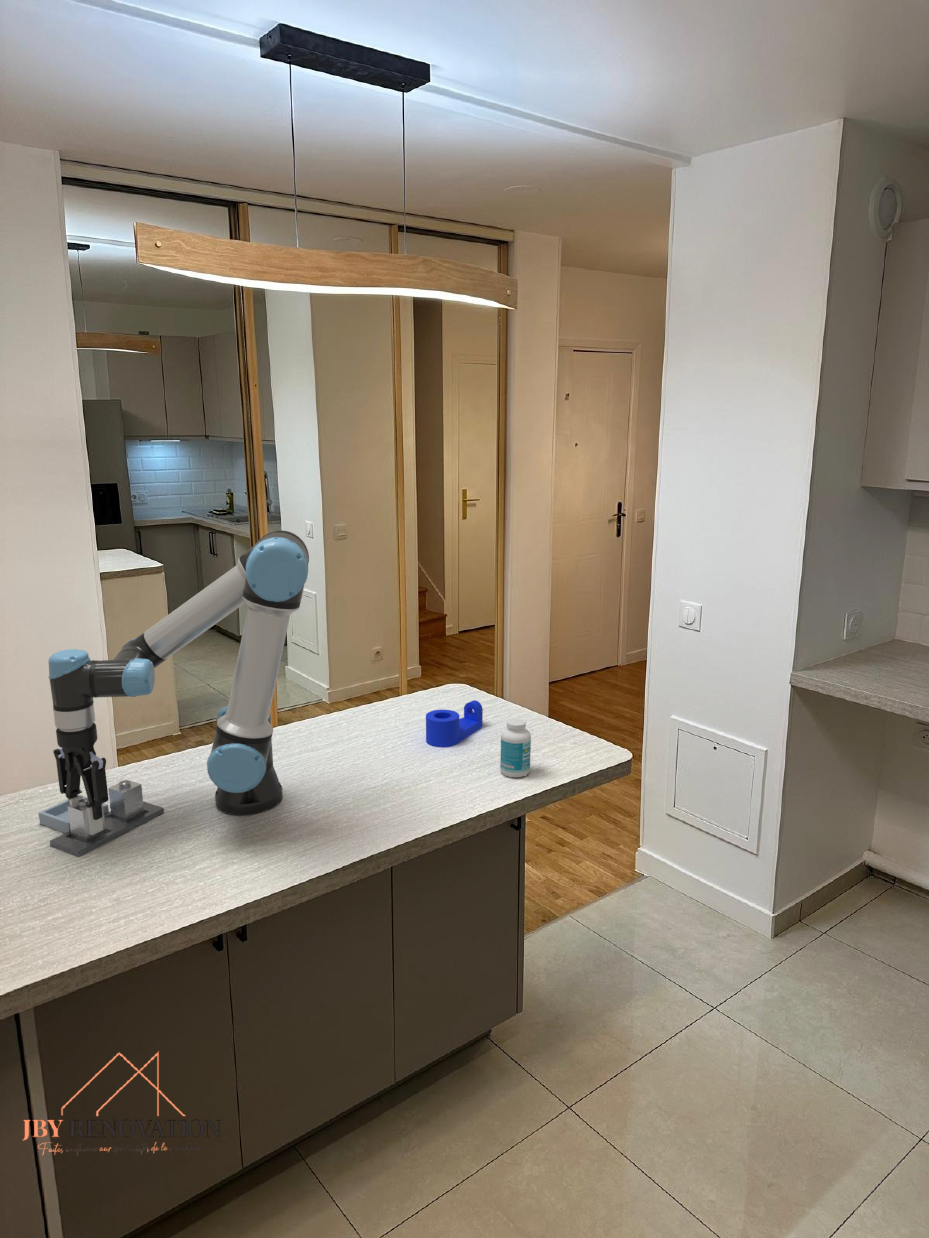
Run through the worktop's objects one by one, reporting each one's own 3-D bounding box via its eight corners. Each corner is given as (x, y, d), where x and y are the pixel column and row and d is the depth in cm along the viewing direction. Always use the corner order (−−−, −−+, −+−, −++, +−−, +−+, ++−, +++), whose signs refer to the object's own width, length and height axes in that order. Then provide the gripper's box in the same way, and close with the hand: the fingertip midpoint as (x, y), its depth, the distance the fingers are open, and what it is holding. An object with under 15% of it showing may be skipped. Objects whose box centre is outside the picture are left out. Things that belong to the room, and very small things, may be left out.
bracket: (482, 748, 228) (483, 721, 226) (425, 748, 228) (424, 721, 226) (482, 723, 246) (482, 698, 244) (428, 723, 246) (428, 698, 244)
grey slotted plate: (136, 803, 196) (135, 798, 196) (163, 812, 192) (163, 807, 192) (50, 845, 177) (49, 840, 177) (78, 856, 173) (78, 851, 173)
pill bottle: (528, 780, 209) (529, 728, 205) (498, 777, 210) (498, 726, 207) (531, 767, 216) (533, 717, 212) (502, 765, 217) (503, 715, 214)
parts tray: (109, 815, 190) (108, 804, 190) (69, 834, 182) (68, 823, 181) (79, 805, 195) (78, 794, 194) (39, 823, 187) (38, 812, 186)
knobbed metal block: (106, 836, 181) (102, 798, 179) (87, 846, 177) (82, 807, 175) (91, 831, 184) (87, 793, 181) (71, 840, 180) (67, 802, 177)
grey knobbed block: (144, 817, 190) (141, 780, 188) (126, 826, 186) (122, 789, 184) (129, 812, 192) (126, 776, 190) (111, 821, 188) (107, 784, 186)
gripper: (121, 727, 173) (131, 831, 179) (63, 711, 181) (75, 811, 187) (89, 739, 167) (101, 847, 172) (31, 723, 175) (44, 826, 181)
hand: (87, 828), depth 180 cm, fingers closed on knobbed metal block, 5 cm apart
